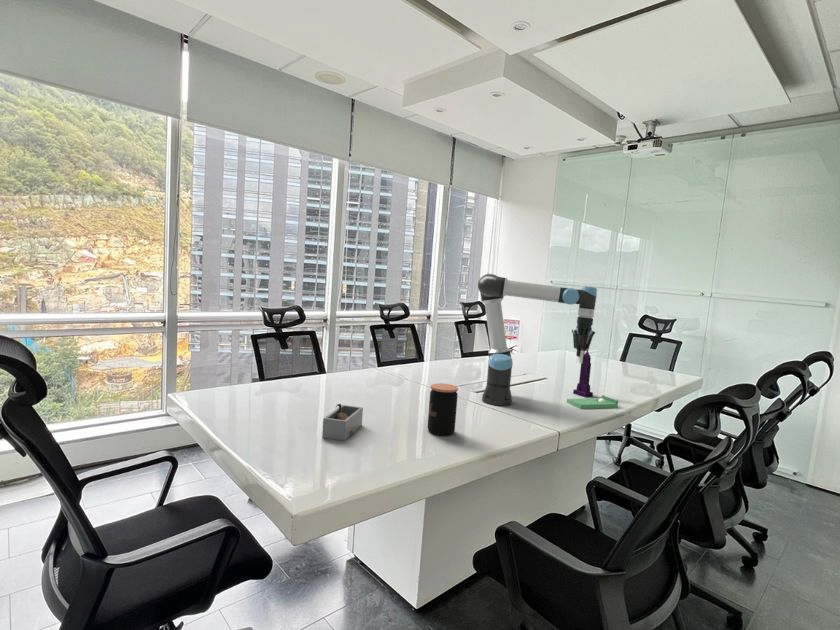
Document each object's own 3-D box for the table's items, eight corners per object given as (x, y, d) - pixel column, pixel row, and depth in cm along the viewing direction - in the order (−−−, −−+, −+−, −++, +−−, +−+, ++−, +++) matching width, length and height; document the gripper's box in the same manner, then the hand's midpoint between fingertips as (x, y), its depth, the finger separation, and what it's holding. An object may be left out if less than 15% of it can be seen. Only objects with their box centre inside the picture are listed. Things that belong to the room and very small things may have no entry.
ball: (600, 407, 234) (597, 402, 233) (598, 403, 238) (596, 398, 237) (607, 404, 233) (604, 399, 232) (605, 401, 237) (602, 396, 236)
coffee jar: (427, 426, 181) (430, 382, 179) (453, 428, 180) (457, 384, 179) (427, 435, 170) (430, 388, 169) (455, 437, 170) (458, 391, 168)
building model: (572, 393, 257) (578, 341, 254) (580, 392, 260) (585, 341, 257) (585, 397, 249) (590, 344, 247) (592, 396, 252) (598, 343, 250)
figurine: (329, 423, 174) (330, 401, 173) (340, 422, 176) (341, 400, 175) (342, 435, 162) (343, 411, 161) (353, 434, 164) (355, 410, 163)
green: (580, 408, 224) (581, 401, 224) (566, 402, 235) (567, 396, 235) (617, 407, 232) (618, 401, 232) (602, 401, 242) (603, 395, 242)
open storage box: (322, 437, 160) (323, 418, 160) (341, 422, 178) (342, 404, 178) (344, 440, 158) (346, 421, 158) (361, 424, 177) (362, 407, 176)
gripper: (579, 317, 221) (573, 364, 223) (601, 318, 226) (594, 364, 228) (570, 315, 228) (563, 360, 231) (590, 316, 233) (584, 361, 235)
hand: (579, 362), depth 229 cm, fingers closed
